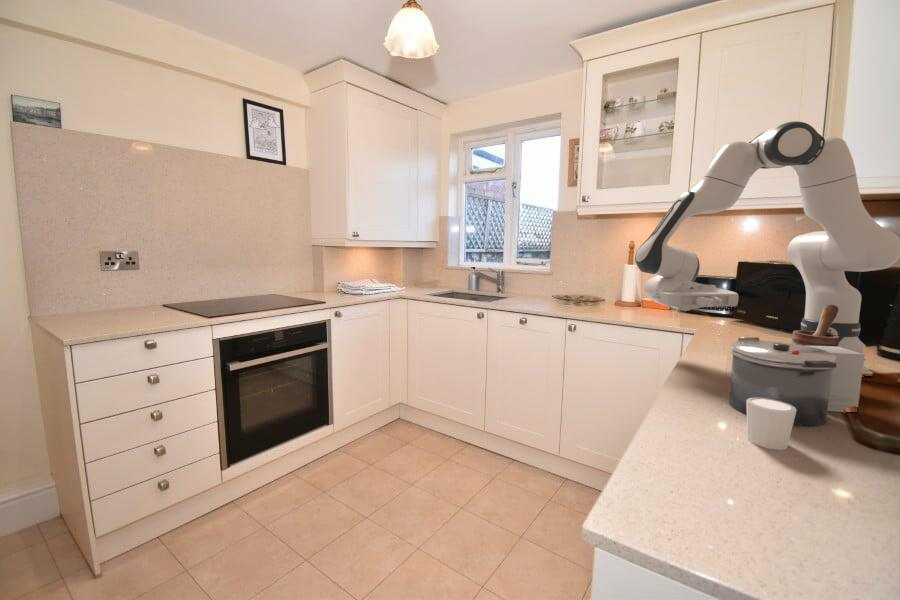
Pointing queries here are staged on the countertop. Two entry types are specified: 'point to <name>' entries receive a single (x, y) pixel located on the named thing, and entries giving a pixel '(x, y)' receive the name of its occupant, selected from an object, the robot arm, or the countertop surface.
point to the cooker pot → (781, 387)
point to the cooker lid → (784, 352)
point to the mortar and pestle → (819, 331)
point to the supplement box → (844, 378)
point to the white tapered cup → (769, 422)
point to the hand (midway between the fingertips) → (717, 303)
